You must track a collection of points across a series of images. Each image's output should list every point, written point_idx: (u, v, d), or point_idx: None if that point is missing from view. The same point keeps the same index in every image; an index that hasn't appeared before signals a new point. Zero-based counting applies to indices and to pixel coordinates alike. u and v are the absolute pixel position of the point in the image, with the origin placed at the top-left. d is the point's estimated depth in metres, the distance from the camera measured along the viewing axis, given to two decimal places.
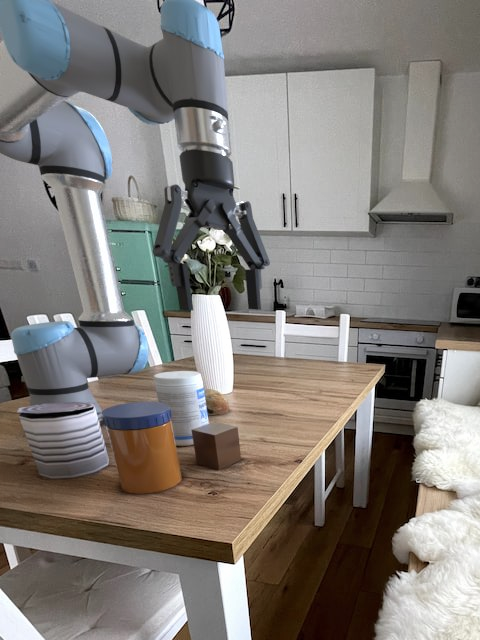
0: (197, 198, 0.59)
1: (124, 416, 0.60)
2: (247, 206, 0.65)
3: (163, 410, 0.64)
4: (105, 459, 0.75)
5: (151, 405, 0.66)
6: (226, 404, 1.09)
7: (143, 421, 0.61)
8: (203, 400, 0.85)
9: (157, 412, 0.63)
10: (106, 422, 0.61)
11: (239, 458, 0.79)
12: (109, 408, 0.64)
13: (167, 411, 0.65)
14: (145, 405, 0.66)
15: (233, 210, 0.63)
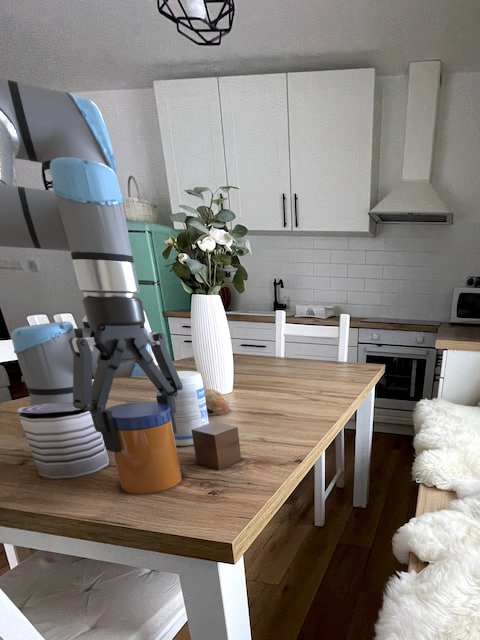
0: None
1: (124, 416, 0.60)
2: None
3: (163, 410, 0.64)
4: (105, 459, 0.75)
5: (151, 405, 0.66)
6: (226, 404, 1.09)
7: (143, 421, 0.61)
8: (203, 400, 0.85)
9: (157, 412, 0.63)
10: None
11: (239, 458, 0.79)
12: (109, 408, 0.64)
13: (167, 411, 0.65)
14: (145, 405, 0.66)
15: (96, 343, 0.58)
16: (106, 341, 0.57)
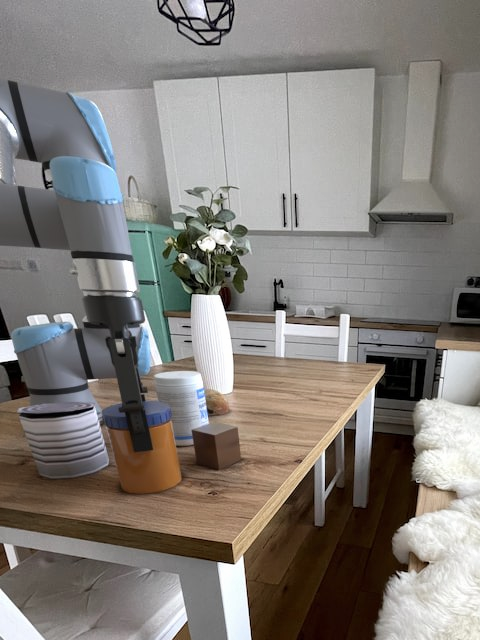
0: None
1: (152, 412, 0.62)
2: None
3: (164, 403, 0.67)
4: (105, 459, 0.75)
5: None
6: (226, 404, 1.09)
7: (167, 413, 0.65)
8: (203, 400, 0.85)
9: (165, 405, 0.66)
10: None
11: (239, 458, 0.79)
12: (108, 413, 0.61)
13: None
14: None
15: None
16: None
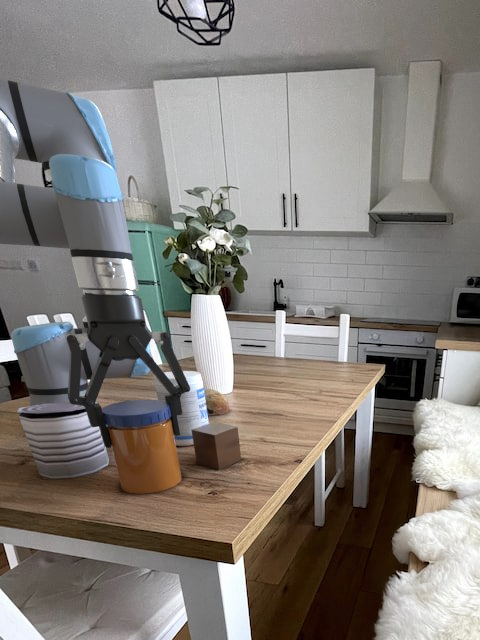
0: (98, 337, 0.57)
1: (156, 401, 0.68)
2: (165, 337, 0.62)
3: (119, 402, 0.66)
4: (105, 459, 0.75)
5: (116, 409, 0.62)
6: (226, 404, 1.09)
7: None
8: (203, 400, 0.85)
9: (127, 401, 0.67)
10: (170, 411, 0.67)
11: (239, 458, 0.79)
12: (155, 410, 0.62)
13: None
14: (121, 409, 0.62)
15: (146, 340, 0.61)
16: None
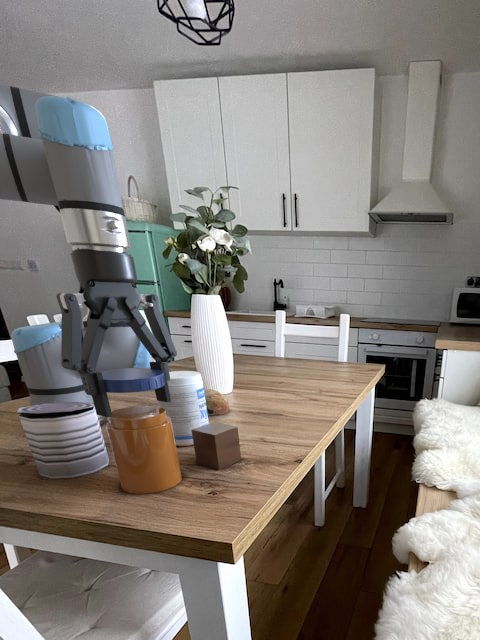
0: (95, 297, 0.54)
1: (140, 368, 0.66)
2: (154, 299, 0.62)
3: (101, 372, 0.62)
4: (105, 459, 0.75)
5: (111, 376, 0.60)
6: (226, 404, 1.09)
7: None
8: (203, 400, 0.85)
9: (108, 370, 0.63)
10: None
11: (239, 458, 0.79)
12: (156, 374, 0.62)
13: None
14: (118, 376, 0.60)
15: (138, 302, 0.60)
16: None
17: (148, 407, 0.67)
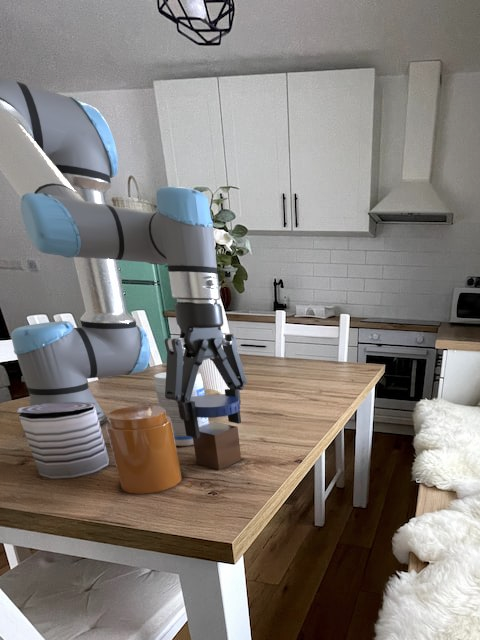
0: (193, 340, 0.66)
1: (217, 395, 0.77)
2: (232, 338, 0.73)
3: None
4: (105, 459, 0.75)
5: (199, 403, 0.71)
6: None
7: None
8: None
9: (192, 397, 0.75)
10: None
11: (239, 458, 0.79)
12: (235, 401, 0.73)
13: None
14: (205, 403, 0.71)
15: (221, 341, 0.71)
16: None
17: (148, 407, 0.67)
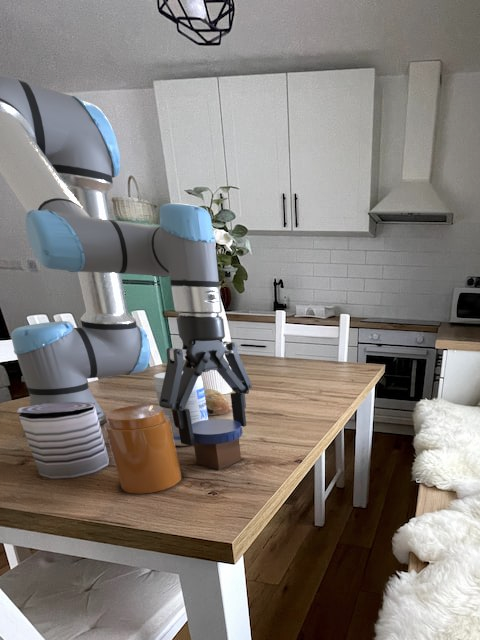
0: (195, 353, 0.67)
1: (220, 419, 0.79)
2: (234, 346, 0.74)
3: None
4: (105, 459, 0.75)
5: (203, 429, 0.73)
6: (226, 404, 1.09)
7: None
8: (203, 400, 0.85)
9: (196, 423, 0.77)
10: None
11: (239, 458, 0.79)
12: (237, 426, 0.76)
13: None
14: (208, 429, 0.73)
15: (223, 353, 0.72)
16: None
17: (146, 406, 0.67)
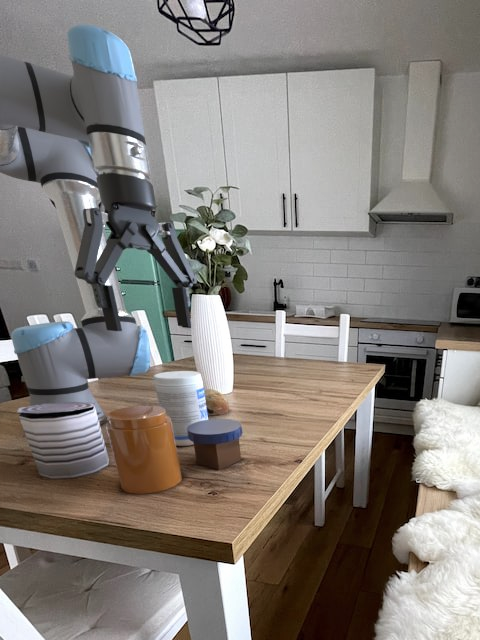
0: (118, 220, 0.59)
1: (220, 419, 0.79)
2: (170, 227, 0.66)
3: (191, 425, 0.76)
4: (105, 459, 0.75)
5: (203, 429, 0.73)
6: (226, 404, 1.09)
7: None
8: (203, 400, 0.85)
9: (196, 423, 0.77)
10: None
11: (239, 458, 0.79)
12: (237, 426, 0.76)
13: None
14: (208, 429, 0.73)
15: (156, 231, 0.64)
16: None
17: (148, 407, 0.67)
